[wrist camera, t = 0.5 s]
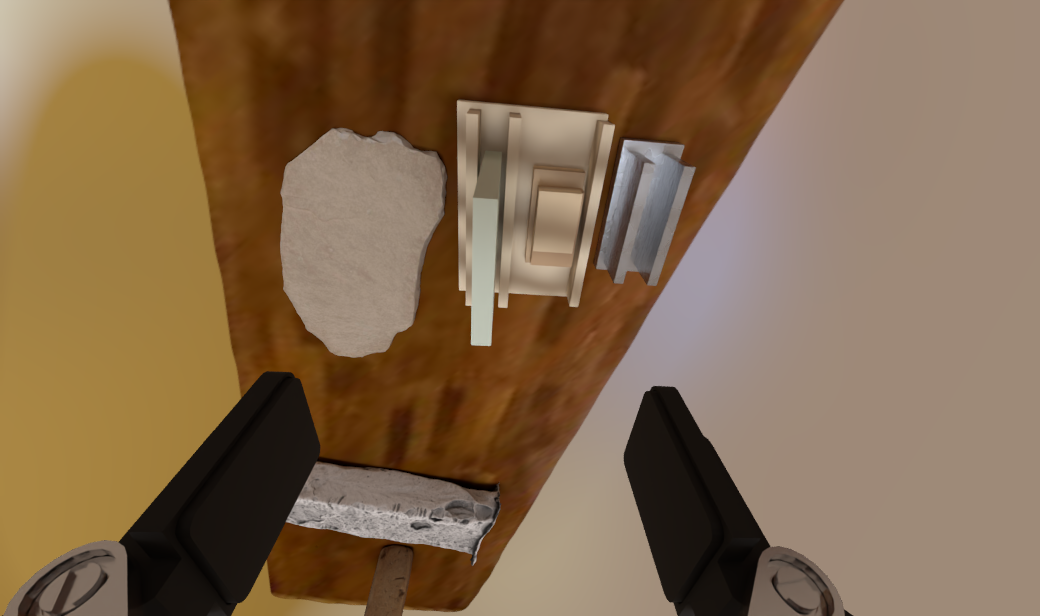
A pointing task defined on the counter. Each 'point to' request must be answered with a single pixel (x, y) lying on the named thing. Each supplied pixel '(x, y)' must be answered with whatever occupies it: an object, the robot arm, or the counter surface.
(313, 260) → the stone tablet
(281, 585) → the counter surface
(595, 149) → the rack
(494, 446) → the counter surface
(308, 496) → the concrete block
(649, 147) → the stand
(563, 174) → the offcut stack
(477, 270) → the grey-green panel
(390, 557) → the block
